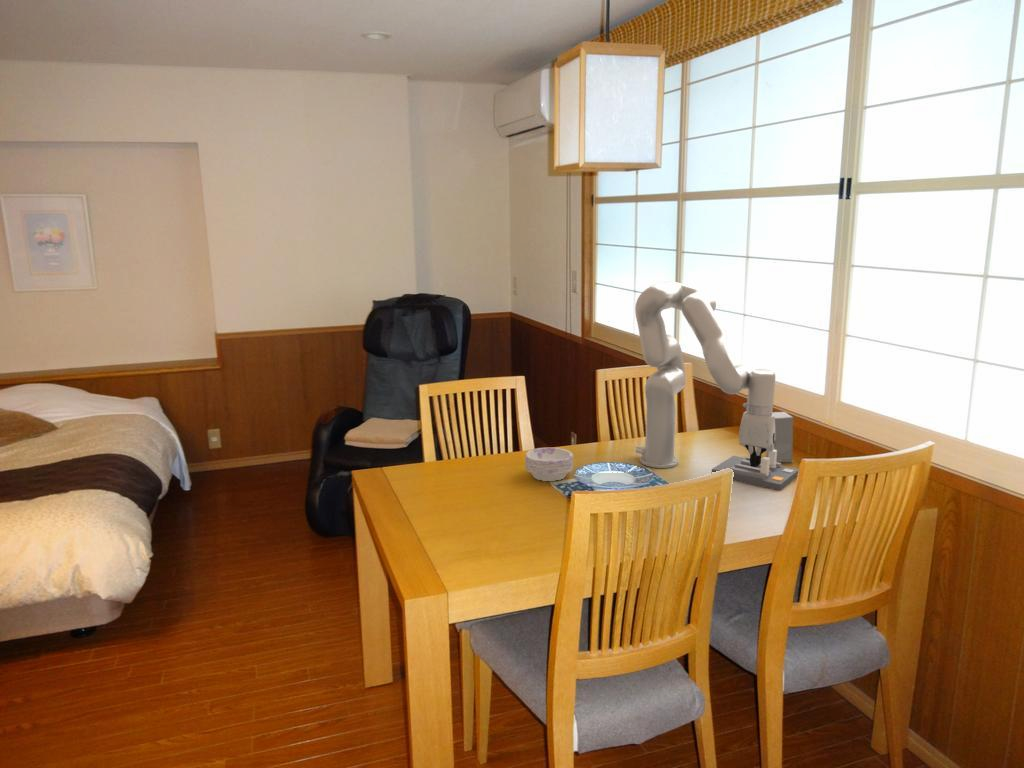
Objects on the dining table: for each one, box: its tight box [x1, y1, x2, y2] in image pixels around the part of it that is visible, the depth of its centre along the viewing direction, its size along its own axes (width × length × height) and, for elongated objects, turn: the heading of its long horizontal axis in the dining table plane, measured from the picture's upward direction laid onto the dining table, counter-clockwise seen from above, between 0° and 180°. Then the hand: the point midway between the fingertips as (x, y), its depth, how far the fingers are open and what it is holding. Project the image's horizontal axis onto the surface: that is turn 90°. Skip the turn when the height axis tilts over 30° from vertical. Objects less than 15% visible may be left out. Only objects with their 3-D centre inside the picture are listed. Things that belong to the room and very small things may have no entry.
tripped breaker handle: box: [760, 456, 770, 477], centre depth 229 cm, size 2×2×6 cm
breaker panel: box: [711, 455, 800, 492], centre depth 236 cm, size 22×17×3 cm
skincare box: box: [765, 411, 794, 463], centre depth 250 cm, size 8×7×16 cm
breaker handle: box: [767, 450, 777, 466], centre depth 237 cm, size 2×2×6 cm
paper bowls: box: [524, 446, 574, 482], centre depth 236 cm, size 15×15×8 cm
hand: (754, 465), depth 232 cm, fingers closed
